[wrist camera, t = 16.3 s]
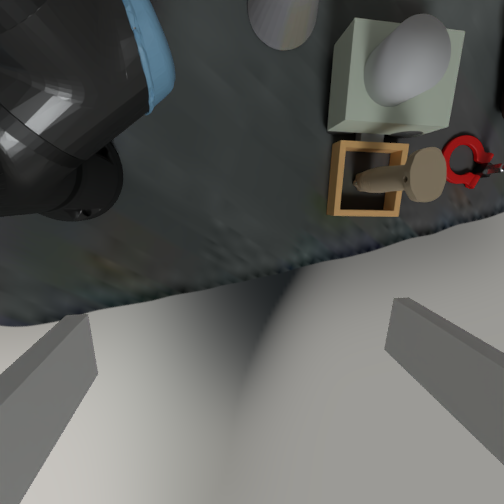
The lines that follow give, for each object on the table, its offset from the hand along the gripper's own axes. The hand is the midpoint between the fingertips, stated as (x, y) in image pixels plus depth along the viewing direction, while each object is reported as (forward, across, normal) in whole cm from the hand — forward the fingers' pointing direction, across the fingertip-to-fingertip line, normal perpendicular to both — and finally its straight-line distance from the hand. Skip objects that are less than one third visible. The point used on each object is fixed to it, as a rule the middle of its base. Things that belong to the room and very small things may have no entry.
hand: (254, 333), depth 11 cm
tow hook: (+34, +44, +11) cm, 57 cm away
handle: (+34, +25, +7) cm, 43 cm away
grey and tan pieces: (+34, +25, +14) cm, 44 cm away
